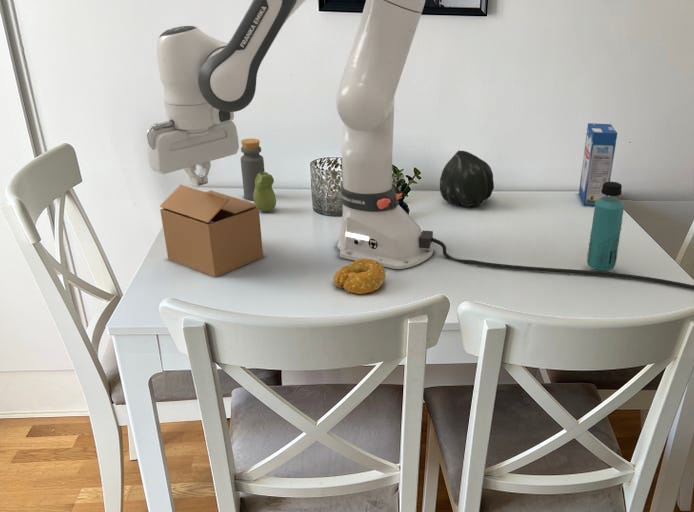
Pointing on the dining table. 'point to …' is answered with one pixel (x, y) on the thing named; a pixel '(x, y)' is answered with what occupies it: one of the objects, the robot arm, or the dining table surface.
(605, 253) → the beverage bottle
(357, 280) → the bagel
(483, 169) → the squash
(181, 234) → the carton
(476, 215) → the dining table surface
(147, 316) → the dining table surface
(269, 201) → the pear
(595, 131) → the milk carton
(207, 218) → the flap
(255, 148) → the bottle
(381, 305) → the dining table surface
